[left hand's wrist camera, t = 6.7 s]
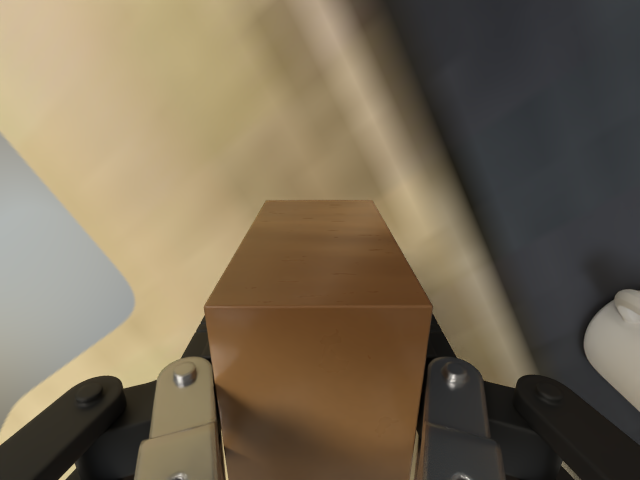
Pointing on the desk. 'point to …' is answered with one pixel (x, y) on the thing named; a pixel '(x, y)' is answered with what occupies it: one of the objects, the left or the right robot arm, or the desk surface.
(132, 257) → the desk surface
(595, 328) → the mug
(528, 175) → the desk surface
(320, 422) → the bar
